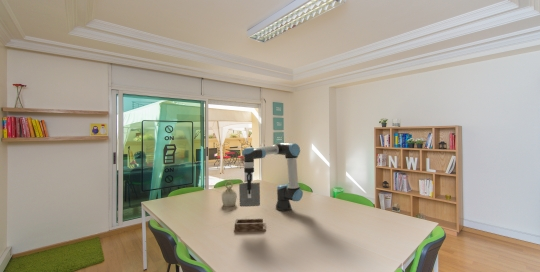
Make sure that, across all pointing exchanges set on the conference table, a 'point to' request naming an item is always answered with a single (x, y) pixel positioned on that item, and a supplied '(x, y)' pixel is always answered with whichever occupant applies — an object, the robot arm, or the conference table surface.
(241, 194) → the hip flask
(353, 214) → the conference table surface
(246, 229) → the u rest
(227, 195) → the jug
